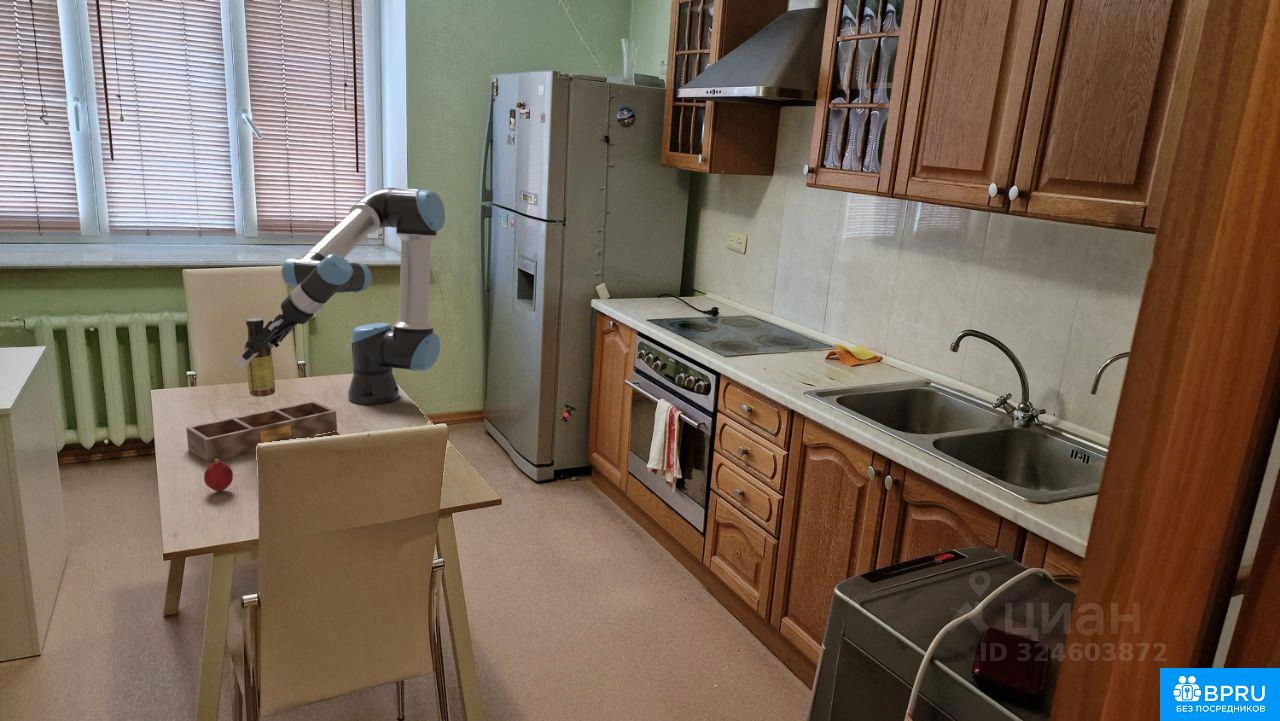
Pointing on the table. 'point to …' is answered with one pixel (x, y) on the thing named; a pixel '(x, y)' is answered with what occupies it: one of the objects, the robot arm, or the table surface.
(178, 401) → the table surface
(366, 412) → the table surface
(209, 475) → the onion
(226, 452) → the wooden compartment tray
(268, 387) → the sauce bottle
